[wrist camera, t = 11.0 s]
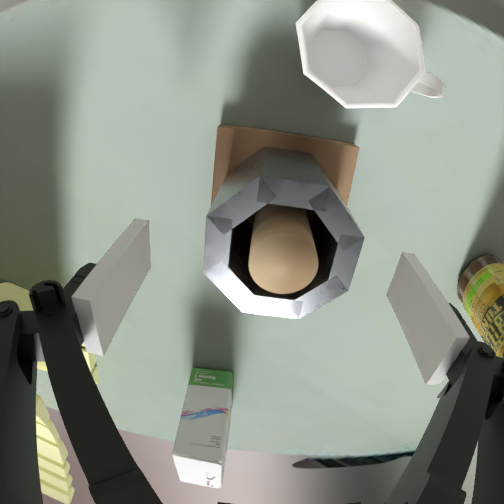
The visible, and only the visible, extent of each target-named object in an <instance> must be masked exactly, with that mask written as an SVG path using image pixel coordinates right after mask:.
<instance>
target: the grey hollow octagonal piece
mask: <svg viewBox="0 0 504 504" xmlns="http://www.w3.org/2000/svg"><path fill="white" fill-rule="evenodd" d="M266 204H276V205H283V206H290V207H297V208H304V209H311V210H315V212H314V216H313V221H312V222H311V223H309V224H310V228H311V232H312V236H313V240H314V244H315V248H316V252H317V256H318V270H317V273H316V275H315V277H314V279H313V280H312V281H311V282H310V283H309V284H308V285H307V286H306V287H304V288H303V289H301V290H299V291H296V292H293V293H288V294H277V293H272V292H269V291H267V290H265V289H263V288H261V287H260V286H259V285H258V284H257V283H256V282H255V281H254V280H253V278H252V277H251V274H250V271H249V265H248V264H249V254H250V247H251V239H252V231H253V225H252V224H251V223H250V222H249V220H248V219H247V218H248V217H250V216H251V215H252V214H254V213H255V212H257V211H258V210H259V209H261V208H262V207H264V206H265V205H266ZM363 241H364V236H363V234H362V232H361V230H360V229H359V227H358V225H357V223H356V222H355V220H354V218H353V216H352V215H351V213H350V211H349V209H348V208H347V206H346V204H345V203H344V201H343V199H342V197H341V196H340V194H339V192H338V191H337V189H336V188H335V186H334V185H333V183H332V182H331V181H330V179H329V178H328V176H327V175H326V173H325V172H324V171H323V169H322V168H321V166H320V165H319V164H318V162H317V161H316V159H315V158H314V157H313V155H312V154H311V153H307V152H301V151H295V150H288V149H281V148H274V147H266V146H263V147H262V148H261V149H259V150H258V151H257V152H255V153H254V154H253V155H251V156H250V157H249V158H247V159H246V160H245V161H243V162H242V163H241V164H239V165H238V166H237V167H235V168H234V169H233V170H231V171H230V172H229V173H228V174H227V175H226V177H225V179H224V181H223V183H222V185H221V187H220V189H219V191H218V193H217V195H216V197H215V199H214V201H213V204H212V206H211V208H210V210H209V212H208V214H207V216H206V233H205V251H204V272H203V273H204V274H205V275H206V276H207V277H208V278H209V279H210V280H211V281H212V282H213V283H214V284H215V285H216V286H217V287H218V288H219V289H220V290H221V291H222V292H223V293H224V294H225V295H226V296H227V297H228V298H229V299H230V300H231V301H232V302H233V303H234V304H235V305H236V306H237V307H238V308H239V309H240V310H241V311H242V312H244V313H252V314H260V315H268V316H277V317H286V318H295V319H300V318H302V317H303V316H305V315H307V314H309V313H311V312H312V311H314V310H316V309H318V308H319V307H321V306H323V305H325V304H326V303H328V302H330V301H332V300H333V299H335V298H337V297H338V296H340V295H342V294H343V293H345V292H347V291H348V289H349V286H350V283H351V280H352V277H353V274H354V271H355V268H356V264H357V261H358V258H359V254H360V251H361V248H362V244H363Z"/></svg>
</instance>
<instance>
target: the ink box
mask: <svg viewBox="0 0 504 504" xmlns="http://www.w3.org/2000/svg"><path fill="white" fill-rule="evenodd" d="M232 389H233V373H232V372H231V371H220V370H212V369H203V368H192V371H191V375H190V379H189V384H188V388H187V392H186V397H185V401H184V405H183V409H182V414H181V418H180V422H179V426H178V431H177V435H176V439H175V444H174V448H173V452H172V455H173V459H174V462H175V466H176V469H177V472H178V475H179V479H180V481H182V482H187V483H192V484H197V485H202V486H208V487H213V488H221V487H222V479H223V472H224V466H225V458H226V451H227V443H228V435H229V427H230V418H231V408H232Z"/></svg>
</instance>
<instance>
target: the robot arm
mask: <svg viewBox="0 0 504 504" xmlns="http://www.w3.org/2000/svg"><path fill="white" fill-rule="evenodd" d="M150 268H151V265H150V243H149V220H141V219H134V220H133V222H132V223H131V224H130V225H129V226H128V227H127V228H126V230H125V231H124V232H123V233H122V234H121V235H120V237H119V238H118V239H117V240H116V241H115V243H114V244H113V245H112V246H111V247H110V249H109V250H108V251H107V252H106V253H105V255H104V256H103V257H102V258H101V260H100V261H99V262H98V263H97V264H94V263H88V264H86V265H85V266H83V267H81V268H80V269H79V270H78V272H77V273H76V274H75V276H73V278H72V279H71V280H70V282H68V284H67V285H66V286H65V287H64V289H63V290H62V286H61V285H60V283H58V282H56V281H51V280H48V281H43V282H40V283H38V284H36V285H35V286H33V287H32V289H31V290H30V292H29V297H30V301H31V304H32V307H33V310H34V311H20V309H19V306H18V304H17V303H16V302H15V301H12V300H6V301H2V302H0V504H43V499H42V492H41V484H40V476H39V466H38V454H37V436H36V379H37V362H45V363H46V367H47V371H48V374H49V378H50V382H51V385H52V388H53V392H54V395H55V398H56V401H57V405H58V408H59V411H60V413H61V416H62V419H63V422H64V425H65V428H66V430H67V433H68V436H69V438H70V441H71V443H72V446H73V448H74V451H75V453H76V455H77V458H78V460H79V463H80V465H81V467H82V469H83V472H84V474H85V476H86V478H87V480H88V483H89V490H90V493H91V495H92V497H93V500H94V502H95V503H96V504H163V503H162V502H161V501H160V499H159V498H158V496H157V495H156V493H155V492H154V490H153V489H152V487H151V485H150V484H149V482H148V481H147V479H146V477H145V476H144V474H143V473H142V471H141V470H140V468H139V467H138V466H137V464H136V462H135V461H134V459H133V457H132V456H131V454H130V452H129V450H128V449H127V447H126V445H125V443H124V441H123V439H122V437H121V436H120V434H119V432H118V430H117V428H116V426H115V424H114V422H113V420H112V418H111V416H110V414H109V412H108V410H107V408H106V405H105V403H104V401H103V399H102V397H101V395H100V392H99V390H98V388H97V386H96V383H95V381H94V379H93V376H92V374H91V372H90V369H89V367H88V364H87V362H86V359H85V357H84V354H83V351H82V349H81V346H82V344H83V342H84V345H85V348H86V351H87V352H88V353H92V354H96V355H100V356H104V355H105V353H106V351H107V349H108V346H109V344H110V342H111V341H112V339H113V337H114V335H115V333H116V331H117V329H118V327H119V325H120V323H121V321H122V319H123V317H124V315H125V313H126V311H127V310H128V308H129V306H130V304H131V302H132V300H133V298H134V296H135V295H136V293H137V291H138V289H139V287H140V285H141V284H142V282H143V280H144V278H145V276H146V275H147V273H148V271H149V269H150ZM387 297H388V299H389V301H390V303H391V305H392V307H393V310H394V312H395V314H396V316H397V318H398V320H399V323H400V325H401V327H402V329H403V332H404V334H405V336H406V338H407V341H408V343H409V345H410V348H411V350H412V352H413V355H414V357H415V359H416V362H417V364H418V367H419V369H420V372H421V374H422V377H423V379H424V382H425V384H426V385H433V384H440V383H441V381H442V380H443V378H444V377H445V375H447V377H448V379H449V382H448V383H447V384H446V386H445V387H444V388H443V390H442V391H441V392H440V394H439V395H438V396H437V398H440V400H439V402H438V405H437V407H436V409H435V411H434V414H433V416H432V418H431V420H430V422H429V425H428V427H427V429H426V431H425V433H424V435H423V437H422V439H421V441H420V443H419V445H418V447H417V449H416V451H415V453H414V455H413V456H412V458H411V460H410V462H409V464H408V466H407V467H406V469H405V471H404V473H403V474H402V476H401V478H400V479H399V481H398V483H397V484H396V486H395V488H394V490H393V491H392V493H391V494H390V496H389V497H388V499H387V500H386V502H385V503H384V504H464V501H465V498H466V492H465V491H463V490H462V489H461V488H462V485H463V482H464V480H465V477H466V474H467V472H468V469H469V466H470V463H471V460H472V457H473V454H474V451H475V448H476V445H477V442H478V453H477V466H476V474H475V484H474V491H473V498H472V504H504V358H502V357H498V356H496V353H495V351H494V350H493V349H492V348H491V347H490V346H489V345H488V344H486V343H484V342H478V341H477V340H476V338H475V336H474V335H473V333H472V332H471V330H470V328H469V327H468V325H467V324H466V322H465V320H464V319H462V316H461V314H460V313H459V311H458V310H457V309H456V308H455V307H454V306H453V305H452V304H451V303H448V302H447V300H446V299H445V297H444V296H443V294H442V293H441V291H440V290H439V288H438V287H437V285H436V284H435V283H434V281H433V280H432V278H431V277H430V275H429V274H428V273H427V271H426V270H425V268H424V267H423V266H422V264H421V263H420V261H419V260H418V259H417V257H416V256H415V255H414V254H411V253H404V252H402V254H401V257H400V260H399V263H398V266H397V268H396V271H395V274H394V276H393V279H392V282H391V284H390V287H389V289H388V292H387ZM440 396H441V397H440ZM218 504H229V503H220V502H218ZM349 504H361V503H349Z"/></svg>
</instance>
